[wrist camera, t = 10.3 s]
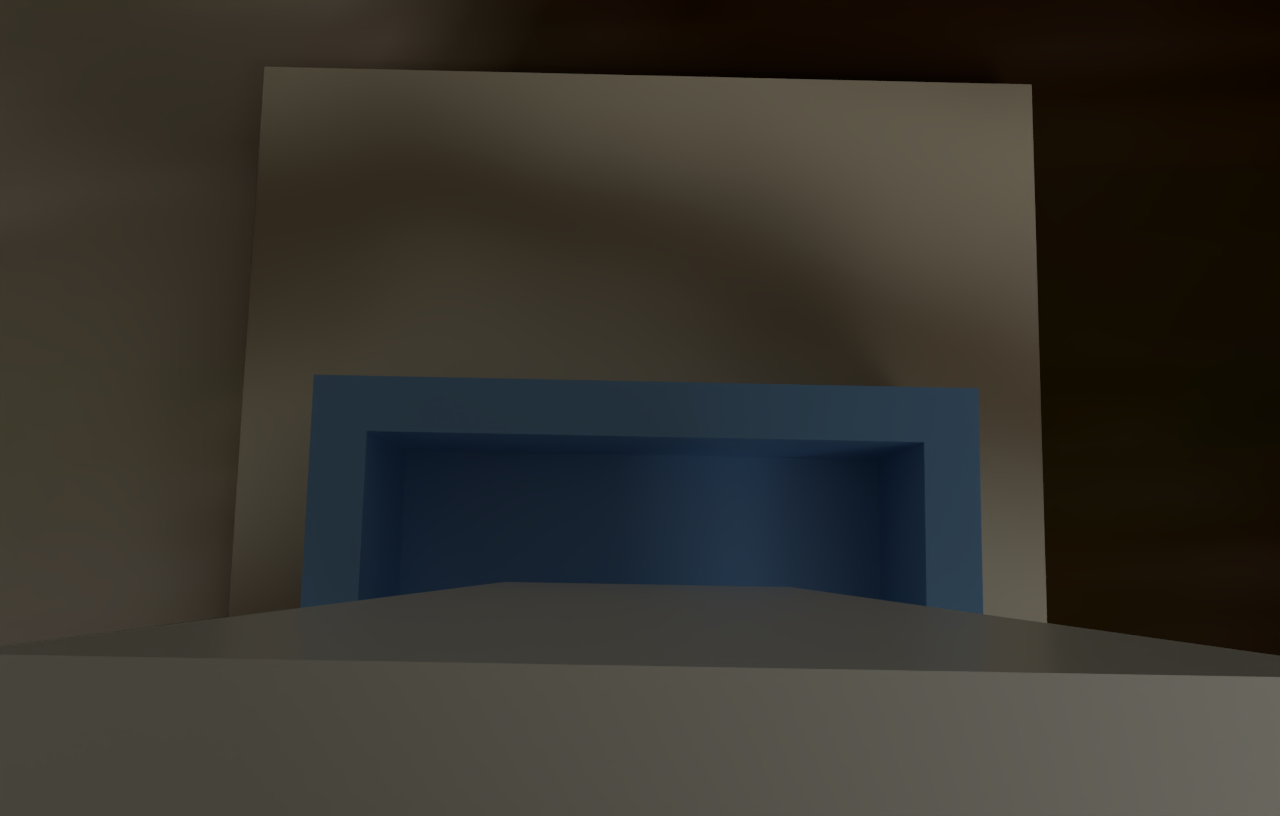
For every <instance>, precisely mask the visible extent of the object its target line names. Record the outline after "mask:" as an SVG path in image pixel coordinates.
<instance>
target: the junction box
mask: <svg viewBox="0 0 1280 816" xmlns="http://www.w3.org/2000/svg"><path fill="white" fill-rule="evenodd" d="M500 582H540V583H596V584H653V585H709V586H766V587H793V588H800V589H808V590H815V591H822V592H829V593H836V594H843V595H850V596H857V597H864V598H872V599H879V600H886V601H893V602H900V603H907V604H914V605H921V606H928V607H936V608H943V609H950V610H957V611H964V612H971V613H978V614H983V576H982V529H981V482H980V436H979V389H978V388H943V387H894V386H845V385H797V384H748V383H699V382H650V381H602V380H553V379H504V378H455V377H407V376H358V375H314V380H313V397H312V414H311V432H310V449H309V466H308V484H307V501H306V518H305V536H304V553H303V570H302V588H301V605H300V608H304V607H312V606H320V605H327V604H335V603H343V602H351V601H359V600H367V599H375V598H382V597H390V596H398V595H406V594H414V593H422V592H429V591H437V590H445V589H453V588H461V587H469V586H477V585H484V584H492V583H500Z"/></svg>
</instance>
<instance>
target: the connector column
mask: <svg viewBox="0 0 1280 816" xmlns="http://www.w3.org/2000/svg"><path fill="white" fill-rule="evenodd" d="M0 816H1280V656H1277V655H1270V654H1263V653H1256V652H1249V651H1242V650H1234V649H1227V648H1220V647H1213V646H1206V645H1199V644H1192V643H1185V642H1178V641H1170V640H1163V639H1156V638H1149V637H1142V636H1135V635H1128V634H1121V633H1113V632H1106V631H1099V630H1092V629H1085V628H1078V627H1071V626H1064V625H1057V624H1049V623H1042V622H1035V621H1028V620H1021V619H1014V618H1007V617H1000V616H993V615H985V614H978V613H971V612H964V611H957V610H950V609H943V608H936V607H928V606H921V605H914V604H907V603H900V602H893V601H886V600H879V599H872V598H864V597H857V596H850V595H843V594H836V593H829V592H822V591H815V590H808V589H800V588H793V587H766V586H709V585H653V584H596V583H540V582H500V583H492V584H484V585H477V586H469V587H461V588H453V589H445V590H437V591H429V592H422V593H414V594H406V595H398V596H390V597H382V598H375V599H367V600H359V601H351V602H343V603H335V604H327V605H320V606H312V607H304V608H296V609H288V610H280V611H272V612H265V613H257V614H249V615H241V616H233V617H225V618H217V619H210V620H202V621H194V622H186V623H178V624H170V625H162V626H155V627H147V628H139V629H131V630H123V631H115V632H107V633H100V634H92V635H84V636H76V637H68V638H60V639H53V640H45V641H37V642H29V643H21V644H13V645H5V646H0Z"/></svg>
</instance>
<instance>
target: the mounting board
mask: <svg viewBox="0 0 1280 816" xmlns="http://www.w3.org/2000/svg"><path fill="white" fill-rule="evenodd" d="M314 375H358V376H407V377H455V378H504V379H553V380H602V381H650V382H699V383H748V384H797V385H845V386H894V387H943V388H978V389H979V436H980V482H981V529H982V576H983V614H985V615H993V616H1000V617H1007V618H1014V619H1021V620H1028V621H1035V622H1042V623H1047V607H1046V572H1045V538H1044V503H1043V468H1042V433H1041V399H1040V364H1039V329H1038V295H1037V260H1036V225H1035V190H1034V156H1033V121H1032V86H1031V85H1027V84H984V83H942V82H899V81H857V80H814V79H772V78H730V77H687V76H645V75H602V74H560V73H517V72H475V71H432V70H390V69H347V68H305V67H264V81H263V96H262V111H261V126H260V141H259V157H258V172H257V187H256V202H255V217H254V232H253V247H252V263H251V278H250V293H249V308H248V323H247V338H246V353H245V369H244V384H243V399H242V414H241V429H240V444H239V460H238V475H237V490H236V505H235V520H234V535H233V550H232V566H231V581H230V596H229V611H228V617H233V616H241V615H249V614H257V613H265V612H272V611H280V610H288V609H296V608H300V605H301V588H302V570H303V553H304V536H305V518H306V501H307V484H308V466H309V449H310V432H311V414H312V397H313V380H314Z"/></svg>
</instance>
